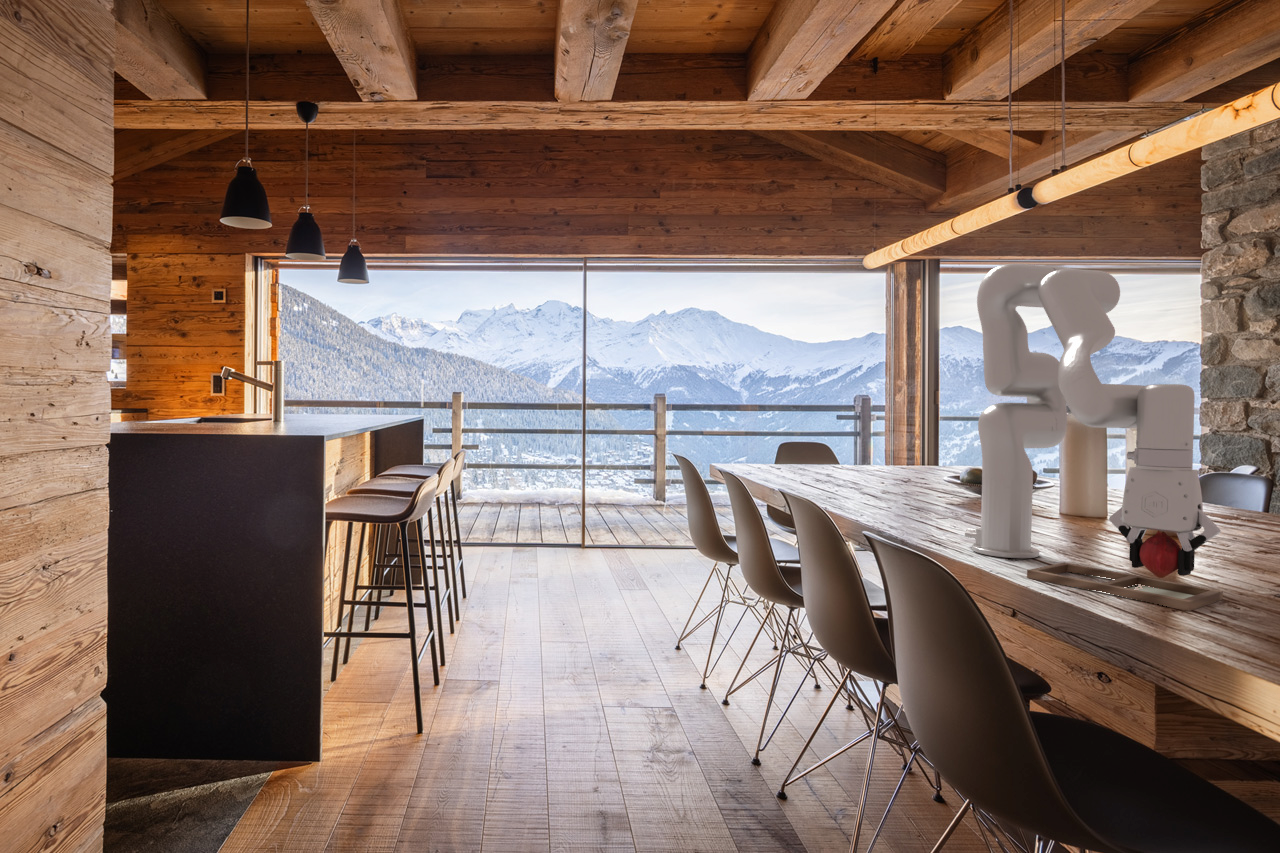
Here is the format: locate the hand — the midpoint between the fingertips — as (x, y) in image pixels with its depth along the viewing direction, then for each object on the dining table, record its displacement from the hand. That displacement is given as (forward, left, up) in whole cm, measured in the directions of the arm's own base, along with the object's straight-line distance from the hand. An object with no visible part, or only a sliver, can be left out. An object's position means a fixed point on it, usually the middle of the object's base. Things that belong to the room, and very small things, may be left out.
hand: (1160, 569), depth 118 cm
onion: (0, 0, -2) cm, 2 cm away
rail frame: (-6, 0, -4) cm, 7 cm away
